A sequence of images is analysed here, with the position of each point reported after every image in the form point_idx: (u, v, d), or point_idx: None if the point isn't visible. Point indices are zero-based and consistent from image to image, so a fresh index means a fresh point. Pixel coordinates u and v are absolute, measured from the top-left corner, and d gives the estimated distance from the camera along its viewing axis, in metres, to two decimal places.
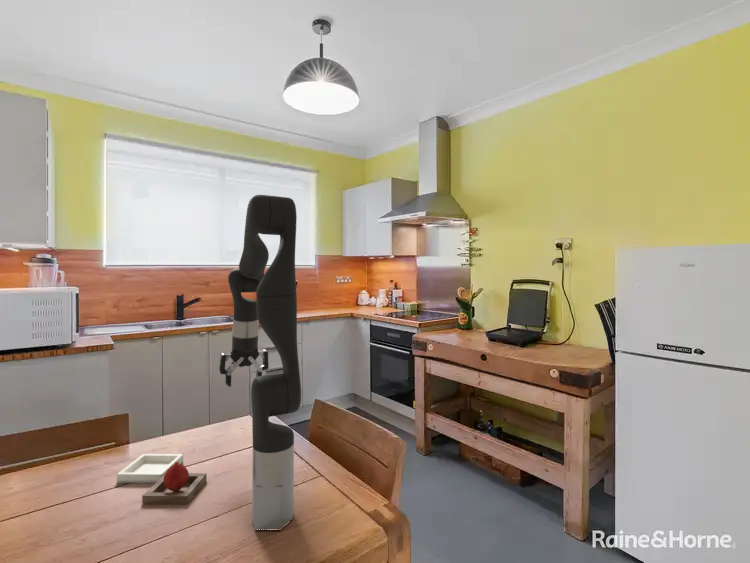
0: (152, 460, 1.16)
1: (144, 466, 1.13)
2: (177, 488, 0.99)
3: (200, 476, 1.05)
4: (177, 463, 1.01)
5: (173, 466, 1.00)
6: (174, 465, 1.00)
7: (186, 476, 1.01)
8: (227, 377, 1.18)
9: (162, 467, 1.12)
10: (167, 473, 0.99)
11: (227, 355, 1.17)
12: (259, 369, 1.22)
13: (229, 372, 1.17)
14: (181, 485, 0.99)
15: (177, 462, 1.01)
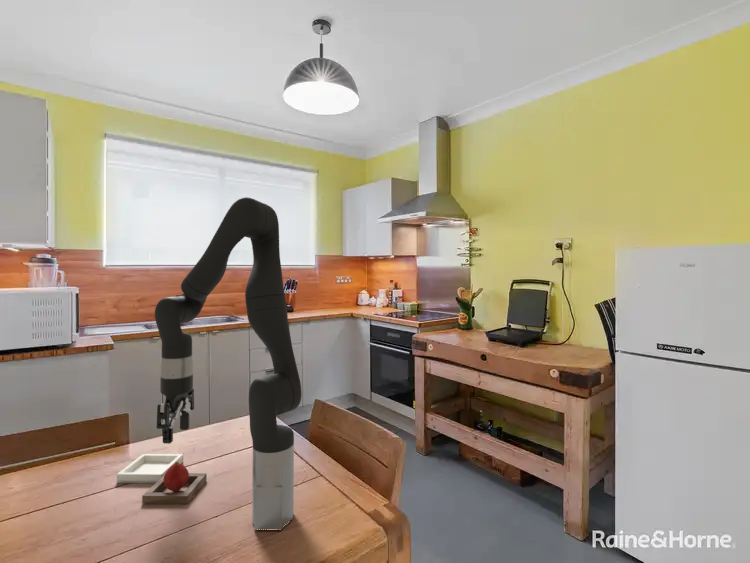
0: (152, 460, 1.16)
1: (144, 466, 1.13)
2: (177, 488, 0.99)
3: (200, 476, 1.05)
4: (177, 463, 1.01)
5: (173, 466, 1.00)
6: (174, 465, 1.00)
7: (186, 476, 1.01)
8: (169, 431, 0.96)
9: (162, 467, 1.12)
10: (167, 473, 0.99)
11: None
12: (189, 411, 1.05)
13: (172, 424, 0.96)
14: (181, 485, 0.99)
15: (177, 462, 1.01)
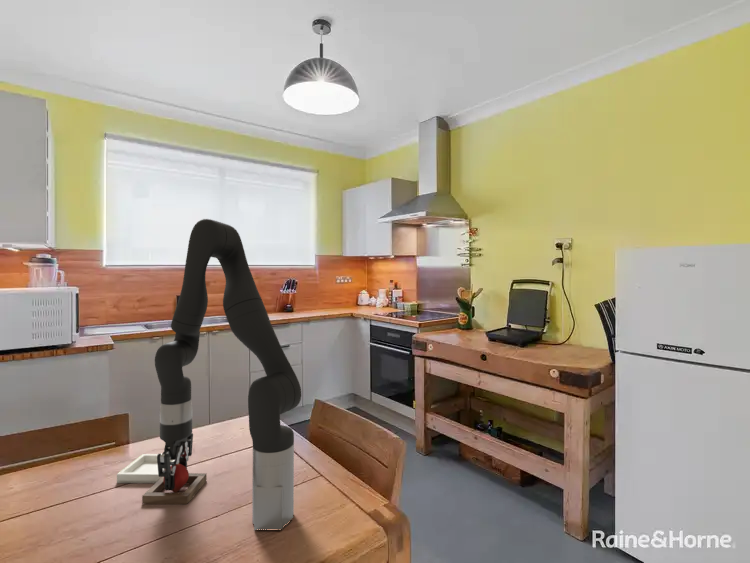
0: (152, 460, 1.16)
1: (144, 466, 1.13)
2: (177, 488, 0.99)
3: (200, 476, 1.05)
4: None
5: None
6: None
7: (186, 476, 1.01)
8: (170, 478, 0.97)
9: None
10: None
11: (167, 452, 0.96)
12: (187, 458, 1.04)
13: (174, 471, 0.97)
14: (181, 485, 0.99)
15: None
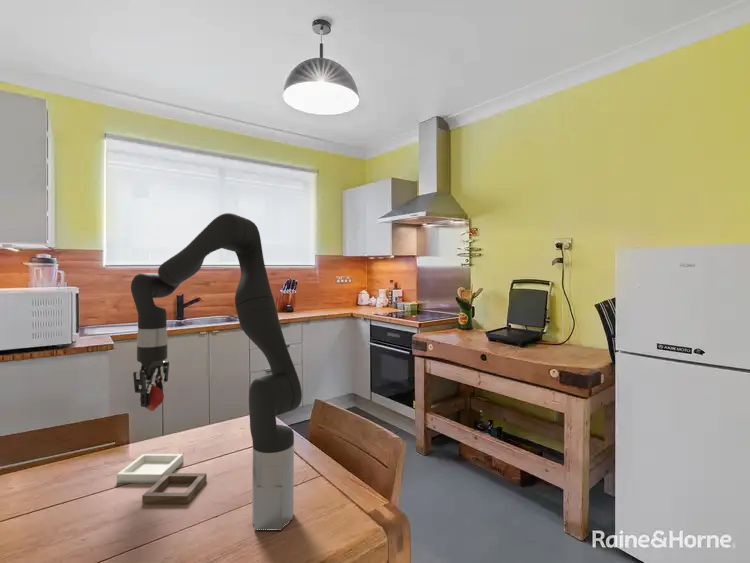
0: (152, 460, 1.16)
1: (144, 466, 1.13)
2: (152, 406, 1.09)
3: (200, 476, 1.05)
4: (153, 384, 1.10)
5: None
6: None
7: (161, 396, 1.10)
8: (146, 396, 1.07)
9: (162, 467, 1.12)
10: None
11: (143, 371, 1.05)
12: (162, 382, 1.14)
13: (149, 389, 1.07)
14: (156, 404, 1.09)
15: None
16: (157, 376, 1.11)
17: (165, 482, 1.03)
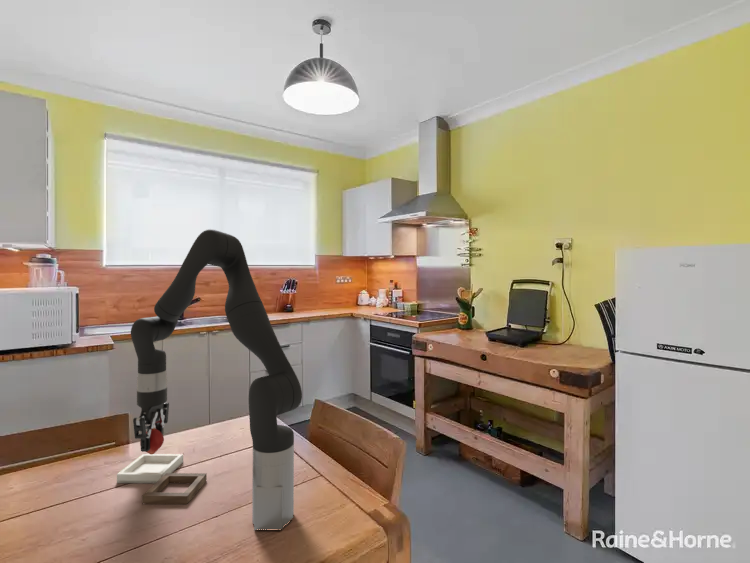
0: (152, 460, 1.16)
1: (144, 466, 1.13)
2: (152, 450, 1.09)
3: (200, 476, 1.05)
4: (153, 428, 1.10)
5: None
6: None
7: (161, 440, 1.11)
8: (146, 441, 1.07)
9: (162, 467, 1.12)
10: None
11: (143, 417, 1.06)
12: (162, 425, 1.14)
13: (149, 434, 1.07)
14: (156, 447, 1.09)
15: None
16: (157, 419, 1.11)
17: (165, 482, 1.03)
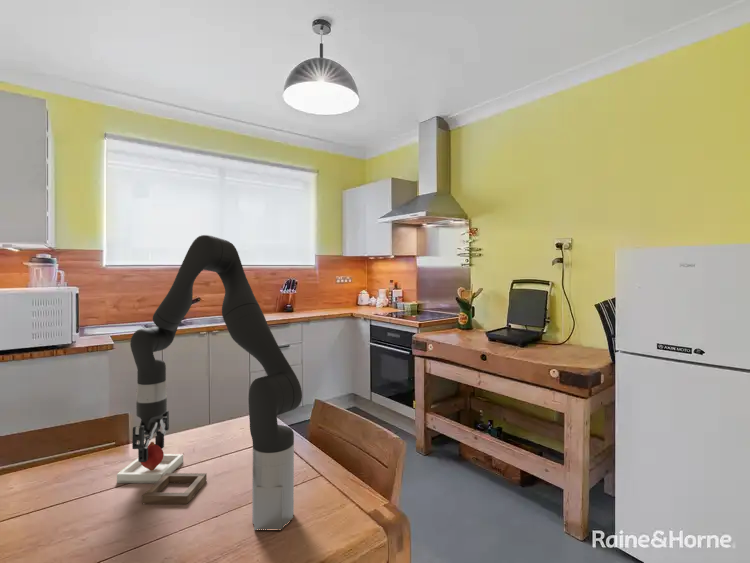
0: None
1: None
2: (152, 466, 1.09)
3: (200, 476, 1.05)
4: (152, 443, 1.11)
5: (149, 446, 1.10)
6: (150, 445, 1.10)
7: (161, 455, 1.11)
8: (144, 451, 1.06)
9: (162, 467, 1.12)
10: None
11: (142, 426, 1.06)
12: (164, 432, 1.15)
13: (147, 444, 1.06)
14: (156, 463, 1.09)
15: (152, 442, 1.11)
16: (157, 429, 1.12)
17: (165, 482, 1.03)
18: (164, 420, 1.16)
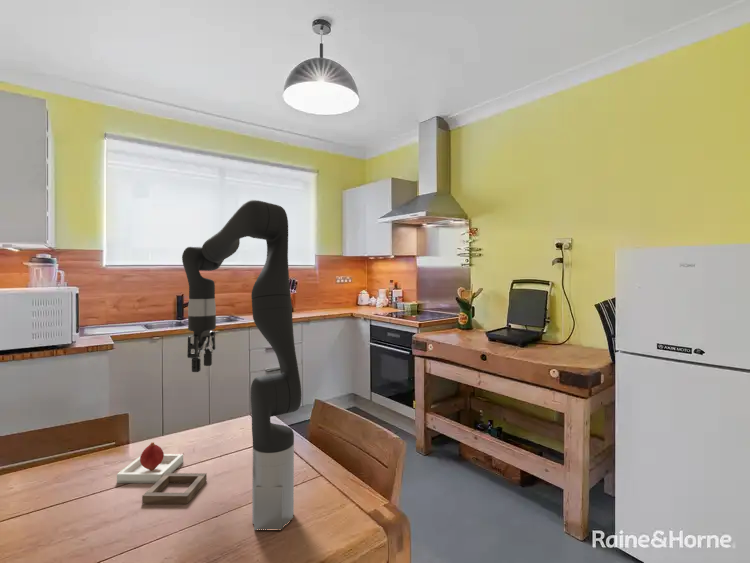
0: None
1: None
2: (152, 466, 1.09)
3: (200, 476, 1.05)
4: (153, 444, 1.10)
5: (149, 446, 1.10)
6: (150, 446, 1.10)
7: (161, 456, 1.10)
8: (197, 361, 1.11)
9: (162, 467, 1.12)
10: (143, 453, 1.09)
11: None
12: (212, 350, 1.20)
13: (200, 355, 1.11)
14: (156, 464, 1.09)
15: (153, 443, 1.11)
16: (207, 345, 1.17)
17: (165, 482, 1.03)
18: (211, 339, 1.21)
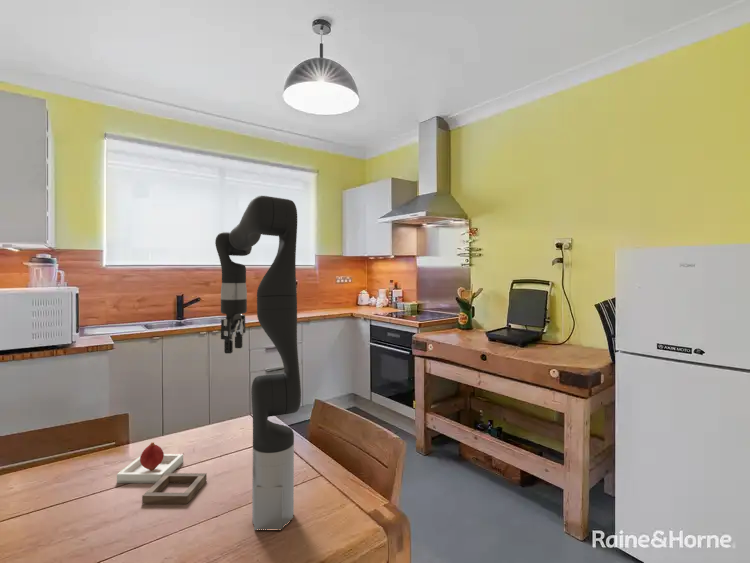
0: None
1: None
2: (152, 466, 1.09)
3: (200, 476, 1.05)
4: (153, 444, 1.10)
5: (149, 447, 1.10)
6: (150, 446, 1.10)
7: (161, 456, 1.10)
8: (230, 343, 1.15)
9: (162, 467, 1.12)
10: (143, 453, 1.09)
11: None
12: (242, 333, 1.24)
13: (232, 337, 1.15)
14: (156, 464, 1.09)
15: (153, 443, 1.11)
16: (238, 328, 1.21)
17: (165, 482, 1.03)
18: (242, 323, 1.25)
